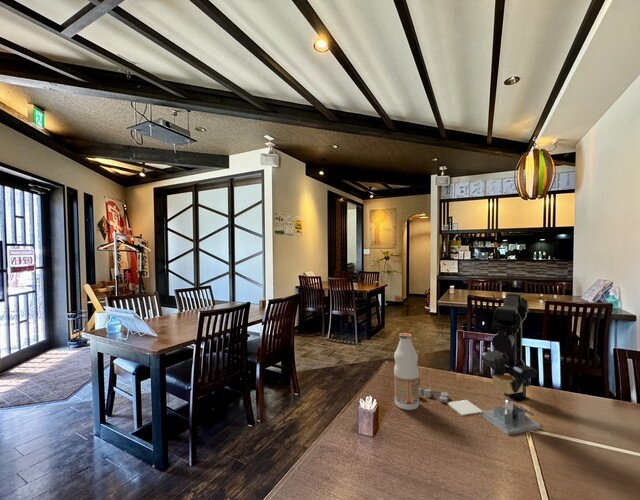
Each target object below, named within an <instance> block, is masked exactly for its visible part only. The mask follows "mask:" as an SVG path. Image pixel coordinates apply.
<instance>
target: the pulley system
mask: <svg viewBox="0 0 640 500" xmlns="http://www.w3.org/2000/svg"><path fill="white" fill-rule="evenodd" d="M422 395H423V396H424V398H431V397H433V398H435V399H437V401H440V402H441V403H445V404H446V403H447V402H449V398H450V395H449V392H446V391H436V390H432V389H431V388H430V387H424V388H421V387H419V398H420V397H422ZM437 395H440V396H437Z"/></svg>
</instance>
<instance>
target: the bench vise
mask: <svg viewBox="0 0 640 500" xmlns="http://www.w3.org/2000/svg"><path fill="white" fill-rule="evenodd" d="M504 406H505V407H502V406H501V405H499V406H494V407H493V408H492V409H488V410H482V411H481V413H480V416H481V417H483V418H484V419H485V420H487V421H488V422H490V423H491V424H492V425H493V426H495V427H496V428H498V429H499V430H501V432H503V433H504V434H506V435H507V436H508V435H515V434H520V433H525V432H530V431H537V430H541V423H540V424H539V423H538V422H536V421H535V420H534V419H532V418H530V417H528V416H527V415H526V413H527V414H528V415H530V416H532V417H533V416H534V413H533V412H531V411H529V410H528V409H527V408H524V407H523V406H522V405H519V406H517V405H515V404H514V400H513V399H512V400H511V399H509V398H507V399H505V400H504Z"/></svg>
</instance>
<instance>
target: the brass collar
mask: <svg viewBox="0 0 640 500" xmlns="http://www.w3.org/2000/svg"><path fill="white" fill-rule="evenodd" d="M492 386H493V387H494V388H496V389H498V391H501V392H502V393H503V394H504V393H506V394H512V393H514V391H513V379H512V377H511V376H510V375H509V374H508V373H505V374H497V375H495V374H492ZM519 392H523V383H522V385H521V387H520V388H519V390H518V392H517V393H519Z"/></svg>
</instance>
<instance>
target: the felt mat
mask: <svg viewBox="0 0 640 500" xmlns="http://www.w3.org/2000/svg"><path fill="white" fill-rule="evenodd" d="M446 404H447V405H448V406H449V407H450V408H452V409H453V411H455V412H456V413H458V415H460V416H462V417H463V416H470V415H476V414H481V411H483V410H481V408H479V407H478V406H476V405H475V404H473V403H472V402H470V401H469V400H468V399H462V400H455V401H454V400H453V401H447V402H446Z"/></svg>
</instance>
